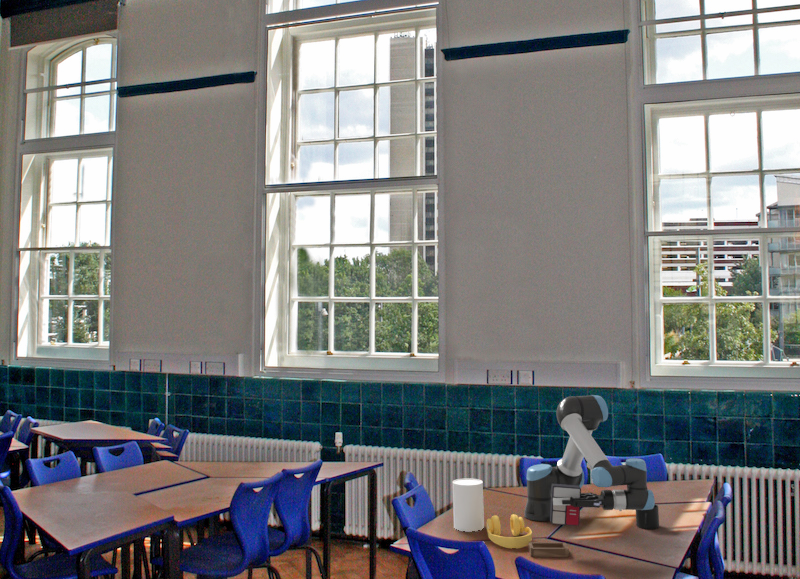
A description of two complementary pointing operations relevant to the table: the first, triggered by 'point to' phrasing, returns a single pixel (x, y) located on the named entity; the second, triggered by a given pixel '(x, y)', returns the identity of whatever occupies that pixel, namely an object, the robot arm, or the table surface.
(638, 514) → the mug
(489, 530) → the headset
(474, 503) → the canister
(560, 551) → the slot stand
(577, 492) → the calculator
